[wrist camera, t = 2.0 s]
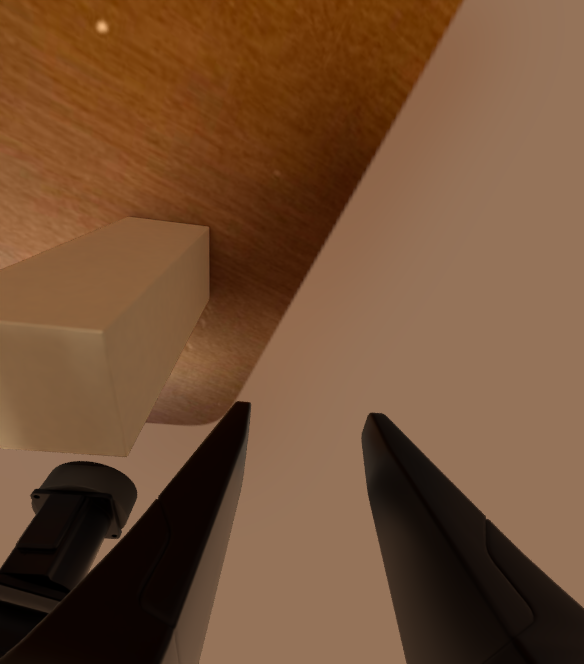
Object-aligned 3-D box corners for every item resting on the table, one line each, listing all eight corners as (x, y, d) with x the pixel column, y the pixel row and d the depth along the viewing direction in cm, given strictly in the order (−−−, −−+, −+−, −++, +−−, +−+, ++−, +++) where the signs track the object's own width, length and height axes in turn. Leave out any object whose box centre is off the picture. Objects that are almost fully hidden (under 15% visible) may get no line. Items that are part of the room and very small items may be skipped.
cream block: (209, 299, 20) (128, 458, 10) (136, 291, 20) (-30, 447, 9) (209, 226, 18) (103, 331, 7) (127, 216, 18) (-105, 311, 7)
